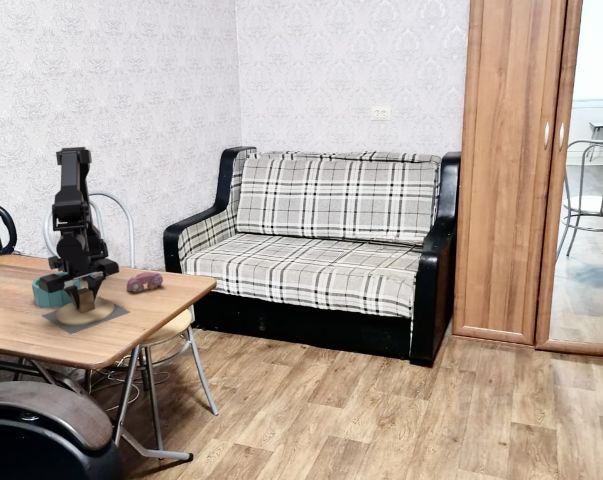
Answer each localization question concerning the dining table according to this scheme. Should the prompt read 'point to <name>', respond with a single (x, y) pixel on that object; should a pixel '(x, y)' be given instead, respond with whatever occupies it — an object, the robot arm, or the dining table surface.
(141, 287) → the purple toy car
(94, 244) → the robot arm
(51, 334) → the dining table surface
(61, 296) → the bowl
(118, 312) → the mat
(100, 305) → the lid
